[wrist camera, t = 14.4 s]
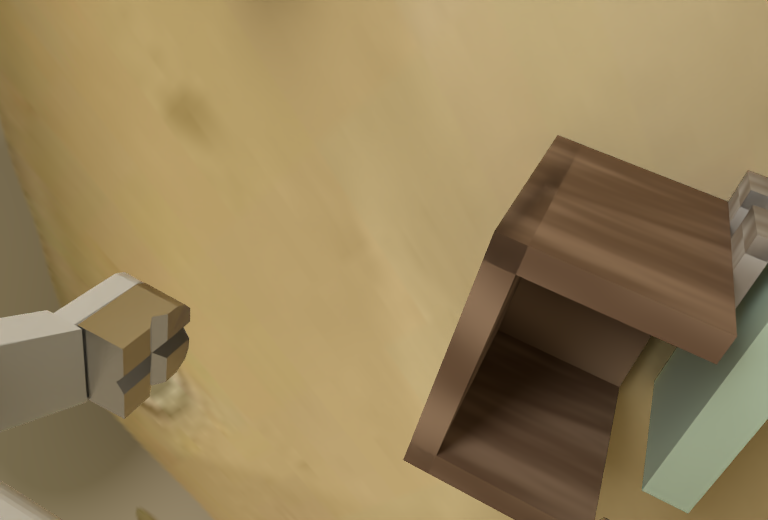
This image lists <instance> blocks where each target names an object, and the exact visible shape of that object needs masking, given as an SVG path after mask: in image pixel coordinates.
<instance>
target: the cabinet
mask: <svg viewBox="0 0 768 520" xmlns="http://www.w3.org/2000/svg"><path fill="white" fill-rule="evenodd" d="M767 263H768V178H767V177H765V176H762V175H759V174H757V173H754V172H751V171H749V170H748V171H747V173H746V174H745V176H744V177H743V179H742V181H741V182H740V184H739V185H738V187H737V189H736V190H735V192H734V194H733V195H732V197H731V198H730V200H729V202H727V201H725V200H722V199H720V198H717V197H714V196H712V195H709V194H707V193H704V192H702V191H699V190H697V189H694V188H691V187H689V186H686V185H684V184H681V183H679V182H676V181H673V180H671V179H668V178H666V177H663V176H661V175H658V174H656V173H653V172H650V171H648V170H645V169H643V168H640V167H638V166H635V165H633V164H630V163H627V162H625V161H622V160H620V159H617V158H615V157H612V156H610V155H607V154H604V153H602V152H599V151H597V150H594V149H592V148H589V147H586V146H584V145H581V144H579V143H576V142H574V141H571V140H569V139H566V138H563V137H561V136H557V137H556V139H555V140H554V142H553V143H552V145H551V146H550V148H549V149H548V151H547V152H546V154H545V155H544V157H543V158H542V160H541V161H540V163H539V164H538V166H537V167H536V169H535V170H534V172H533V173H532V175H531V177H530V178H529V180H528V181H527V183H526V184H525V186H524V187H523V189H522V190H521V192H520V193H519V195H518V196H517V198H516V199H515V201H514V202H513V204H512V205H511V207H510V208H509V210H508V211H507V213H506V215H505V216H504V218H503V219H502V221H501V222H500V224H499V225H498V227H497V228H496V230H495V231H494V234H493V236H492V239H491V241H490V244H489V246H488V249H487V251H486V254H485V256H484V259H483V261H482V264H481V266H480V269H479V271H478V274H477V276H476V279H475V281H474V284H473V286H472V289H471V291H470V294H469V296H468V299H467V302H466V304H465V307H464V309H463V312H462V314H461V317H460V319H459V322H458V324H457V327H456V329H455V332H454V334H453V337H452V339H451V342H450V344H449V347H448V349H447V352H446V354H445V357H444V359H443V362H442V364H441V367H440V369H439V372H438V374H437V377H436V379H435V382H434V384H433V387H432V389H431V392H430V394H429V397H428V399H427V402H426V404H425V407H424V409H423V412H422V414H421V417H420V419H419V422H418V424H417V427H416V430H415V432H414V435H413V437H412V440H411V442H410V445H409V447H408V450H407V452H406V455H405V457H404V461H406V462H408V463H410V464H412V465H414V466H415V467H417V468H419V469H421V470H423V471H425V472H427V473H429V474H430V475H432V476H434V477H436V478H438V479H440V480H442V481H444V482H445V483H447V484H449V485H451V486H453V487H455V488H457V489H458V490H460V491H462V492H464V493H466V494H468V495H470V496H472V497H473V498H475V499H477V500H479V501H481V502H483V503H485V504H486V505H488V506H490V507H492V508H494V509H496V510H498V511H500V512H501V513H503V514H505V515H507V516H509V517H511V518H513V519H515V520H595V515H596V510H597V505H598V499H599V494H600V488H601V483H602V478H603V472H604V467H605V461H606V456H607V451H608V445H609V440H610V435H611V429H612V424H613V418H614V413H615V408H616V402H617V397H618V392H619V387H620V385H621V384H622V382H623V380H624V379H625V377H626V376H627V374H628V373H629V371H630V369H631V368H632V366H633V365H634V363H635V361H636V360H637V358H638V357H639V355H640V353H641V352H642V350H643V349H644V347H645V345H646V344H647V342H648V341H649V339H650V337H651V336H654V337H656V338H658V339H660V340H663V341H665V342H667V343H669V344H672V345H674V346H676V347H678V348H681V349H683V350H685V351H687V352H690V353H692V354H694V355H696V356H699V357H701V358H703V359H705V360H707V361H710V362H712V363H714V364H716V365H717V364H718V362H719V361H720V360H721V358H722V357H723V355H724V354H725V353H726V351H727V350H728V349H729V347H730V346H731V344H732V343H733V342H734V340H735V339H736V337H737V327H736V311H735V309H736V308H737V306H738V305H739V303H740V302H741V300H742V299H743V298H744V296H745V295H746V293H747V292H748V290H749V289H750V288H751V286H752V285H753V283H754V282H755V280H756V279H757V278H758V276H759V275H760V273H761V272H762V270H763V269H764V268H765V266H766V265H767Z"/></svg>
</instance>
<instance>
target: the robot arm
mask: <svg viewBox="0 0 768 520" xmlns="http://www.w3.org/2000/svg"><path fill="white" fill-rule="evenodd" d="M189 322H190V308H189V307H188V306H186V305H185V304H183V303H181V302H179V301H177V300H176V299H174V298H172V297H170V296H168V295H166V294H165V293H163V292H161V291H159V290H157V289H155V288H154V287H152V286H150V285H148V284H146V283H144V282H142V281H140V280H138V279H136V278H134V277H133V276H131V275H129V274H127V273H125V272H122V273H116V274H114V275H112V276H111V277H109V278H107V279H106V280H104V281H103V282H101V283H100V284H98V285H97V286H95V287H94V288H92V289H90V290H89V291H87V292H86V293H84V294H83V295H81V296H80V297H78V298H76V299H75V300H73V301H72V302H70V303H69V304H67V305H66V306H64V307H62V308H61V309H59V310H58V311H56V312H55V313H52V312H50V311H48V310H45V311H40V312H34V313H28V314H22V315H16V316H10V317H4V318H0V432H2V431H5V430H8V429H11V428H13V427H16V426H19V425H22V424H25V423H28V422H31V421H34V420H36V419H39V418H42V417H45V416H48V415H51V414H54V413H57V412H59V411H62V410H65V409H68V408H71V407H74V406H76V405H79V404H82V403H85V402H87V399H88V400H90V401H92V402H94V403H96V404H98V405H99V406H101V407H103V408H105V409H107V410H109V411H111V412H112V413H114V414H116V415H118V416H120V417H122V418H124V419H125V418H126V417H127V416H128V415H130V414H131V413H132V412H133V411H134V410H135V409H136V408H137V407H138V406H140V405H141V404H142V403H143V402H144V401H145V400H146V399H147V398H149V397H150V391H151V385H155V384H159V383H163V382H166V381H167V380H168V379H169V378H170V377H172V376H173V375H174V374H175V373H176V372H177V370H178V369H179V367H180V366H181V364H182V363H183V361H184V359H185V357H186V354H187V351H188V347H189V337H188V335H187V333H186V331H185V329H184V326H185V325H186V324H188V323H189ZM0 520H62V519H61V518H59V517H57V516H56V515H54V514H53V513H51V512H49V511H48V510H46V509H45V508H43V507H42V506H40V505H38V504H37V503H35V502H34V501H32V500H30V499H29V498H27V497H26V496H24V495H23V494H21V493H19V492H18V491H16V490H14V489H13V488H12V487H10V486H8V485H7V484H5V483H4V482H2V481H1V480H0ZM600 520H609V519H607V518H605V517H603V518H602V519H600Z"/></svg>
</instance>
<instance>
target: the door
mask: <svg viewBox="0 0 768 520" xmlns="http://www.w3.org/2000/svg"><path fill="white" fill-rule="evenodd" d="M735 311H736V327H737V337H736V339H735V340H734V342H733V343H732V344H731V346H730V347H729V349H728V350H727V351H726V353H725V354H724V355H723V357H722V358H721V360H720V361H719V362H718V364H717V365H716V364H714V363H712V362H710V361H707V360H705V359H703V358H701V357H699V356H696V355H694V354H692V353H690V352H687V351H685V350H683V349H681V348H678V347H677V348H676V349H675V351H674V352H673V354H672V355H671V357H670V358H669V360H668V361H667V363H666V364H665V366H664V367H663V369H662V370H661V372H660V373H659V375H658V376H657V378H656V379H655V381H654V389H653V398H652V406H651V415H650V424H649V433H648V441H647V450H646V459H645V467H644V476H643V485H642V491H644V492H646V493H648V494H650V495H652V496H654V497H656V498H658V499H660V500H662V501H664V502H666V503H668V504H670V505H672V506H674V507H676V508H678V509H680V510H682V511H684V512H686V513H689V512H690V511H691V510H692V508H693V507H694V506H695V505H696V504H697V502H698V501H699V500H700V499H701V498H702V496H703V495H704V494H705V493H706V492H707V491H708V489H709V488H710V487H711V486H712V485H713V483H714V482H715V481H716V480H717V479H718V477H719V476H720V475H721V474H722V473H723V471H724V470H725V469H726V468H727V467H728V466H729V464H730V463H731V462H732V461H733V460H734V458H735V457H736V456H737V455H738V454H739V452H740V451H741V450H742V449H743V448H744V446H745V445H746V444H747V443H748V442H749V441H750V439H751V438H752V437H753V436H754V435H755V433H756V432H757V431H758V430H759V429H760V427H761V426H762V425H763V424H764V423H765V421H766V420H767V419H768V263H767V265H766V266H765V268H764V269H763V270H762V272H761V273H760V275H759V276H758V278H757V279H756V280H755V282H754V283H753V285H752V286H751V288H750V289H749V290H748V292H747V293H746V295H745V296H744V298H743V299H742V300H741V302H740V303H739V305H738V306H737V308H736V309H735Z"/></svg>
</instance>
